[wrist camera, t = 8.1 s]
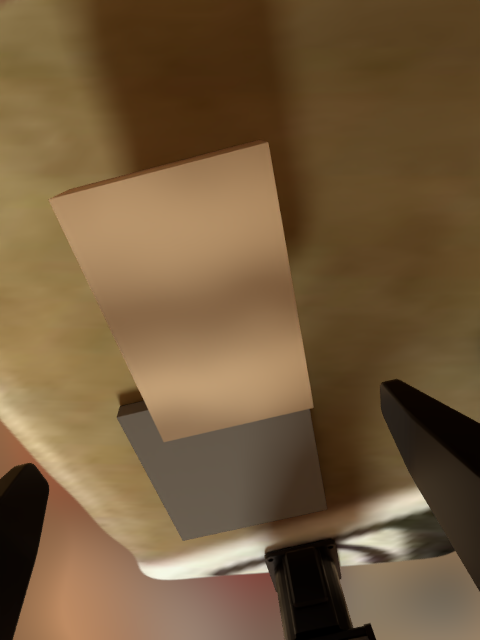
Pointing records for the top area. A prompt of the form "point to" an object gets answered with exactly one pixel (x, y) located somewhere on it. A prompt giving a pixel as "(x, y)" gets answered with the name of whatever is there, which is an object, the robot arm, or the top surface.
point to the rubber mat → (230, 471)
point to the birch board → (195, 287)
